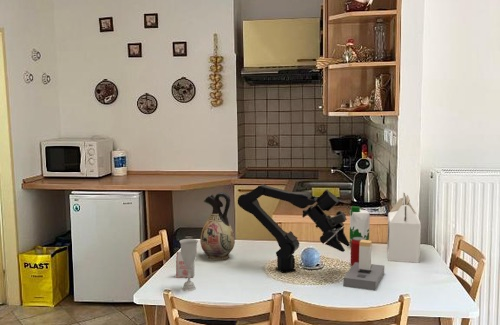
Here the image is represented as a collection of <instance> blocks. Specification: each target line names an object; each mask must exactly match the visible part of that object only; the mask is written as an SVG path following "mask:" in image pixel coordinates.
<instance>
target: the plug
mask: <svg viewBox="0 0 500 325" xmlns="http://www.w3.org/2000/svg"><path fill="white" fill-rule="evenodd" d="M372 241H373V240H370V239H369V240H361V241H360V244H359V269H367V270H369V269H370V268H371V264H372V248H373V247H372V246H373V245H372V243H373V242H372Z"/></svg>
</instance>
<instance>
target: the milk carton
mask: <svg viewBox="0 0 500 325" xmlns="http://www.w3.org/2000/svg"><path fill="white" fill-rule="evenodd" d="M370 218H371V217H370V212H369V211H368V210H367V209H361V206H356V205H354V206H351V207H350V210H349V244H350V245H349V246H350V247H351V241H352V239H353V238H354V237H363V238H365V239H366V240H370V223H371V222H370V220H371V219H370Z"/></svg>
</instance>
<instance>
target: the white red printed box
mask: <svg viewBox="0 0 500 325" xmlns="http://www.w3.org/2000/svg"><path fill="white" fill-rule="evenodd" d="M175 258H176V259H175V272H176V273H175V278H178V279H188V277H187V275H188V272H187V269H188V266H186V265H185V263H184V261H183V259H182V256H181V251H176V257H175ZM190 270H191V272H190V275H191V277H190V279H194V277H195V261H194V262H193V265H191V266H190Z"/></svg>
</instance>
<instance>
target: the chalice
mask: <svg viewBox="0 0 500 325" xmlns="http://www.w3.org/2000/svg"><path fill="white" fill-rule="evenodd" d="M198 242H199V240H198V239H195V238H184V239H181V240H179V243H180V252H181V256H182V259H183V261H184V263H185V265H186V266H188V269H187V272H188V275H187V277H188V278H187V280H186V281H185V282H184V283H183V285H182V286H183V287H182V291H186V292H189V291H190V292H192V291H194V290H196V288H197V287H196V285H195V283H194V282H193V281H191V278H190V277H191V275H190V272H191V270H190V266H191V265H193V262H194V263H195V260H196V257H197V252H198V251H197V247H198V245H197V244H198Z"/></svg>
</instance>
